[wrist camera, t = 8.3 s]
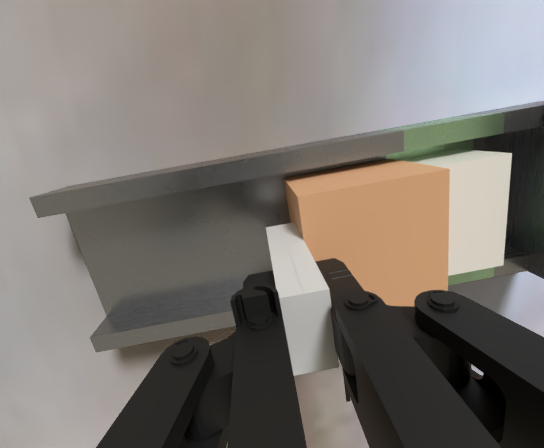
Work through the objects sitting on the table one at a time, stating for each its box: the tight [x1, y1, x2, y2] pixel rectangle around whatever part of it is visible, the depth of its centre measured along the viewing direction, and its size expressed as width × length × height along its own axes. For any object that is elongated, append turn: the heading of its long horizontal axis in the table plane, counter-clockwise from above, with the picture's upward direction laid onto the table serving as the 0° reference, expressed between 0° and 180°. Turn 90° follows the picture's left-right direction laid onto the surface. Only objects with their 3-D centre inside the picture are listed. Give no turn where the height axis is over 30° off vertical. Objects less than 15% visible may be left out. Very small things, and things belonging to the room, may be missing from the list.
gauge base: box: [30, 101, 544, 352], centre depth 15 cm, size 28×9×7 cm, turn 100°
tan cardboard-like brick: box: [284, 159, 450, 306], centre depth 15 cm, size 6×6×5 cm
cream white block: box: [401, 149, 512, 276], centre depth 16 cm, size 4×6×4 cm
